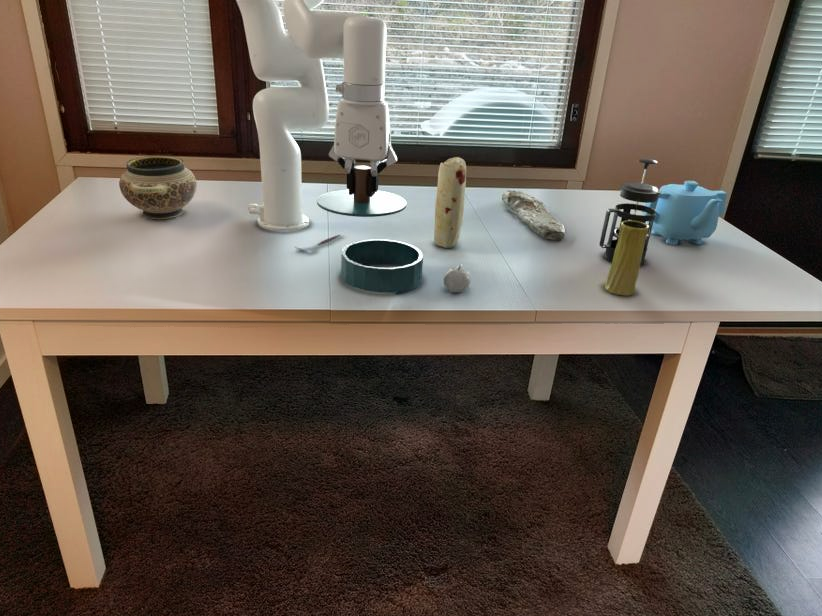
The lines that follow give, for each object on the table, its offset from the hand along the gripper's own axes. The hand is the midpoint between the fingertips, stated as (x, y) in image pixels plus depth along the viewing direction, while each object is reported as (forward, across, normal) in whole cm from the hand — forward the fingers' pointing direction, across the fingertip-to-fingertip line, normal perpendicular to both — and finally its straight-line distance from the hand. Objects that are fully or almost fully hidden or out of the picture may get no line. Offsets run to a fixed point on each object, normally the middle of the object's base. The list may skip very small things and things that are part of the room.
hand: (362, 193), depth 127 cm
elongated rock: (+18, +33, +53) cm, 64 cm away
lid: (+2, 0, 0) cm, 2 cm away
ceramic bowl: (+17, -58, +22) cm, 64 cm away
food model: (+18, +14, +25) cm, 34 cm away
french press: (+18, +55, +30) cm, 65 cm away
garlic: (+18, +20, 0) cm, 27 cm away
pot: (+18, +4, 0) cm, 18 cm away
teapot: (+18, +71, +50) cm, 88 cm away
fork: (+18, -14, +14) cm, 26 cm away
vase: (+18, +53, +11) cm, 57 cm away
